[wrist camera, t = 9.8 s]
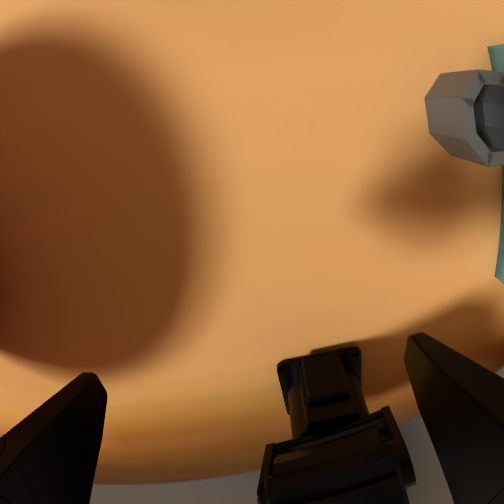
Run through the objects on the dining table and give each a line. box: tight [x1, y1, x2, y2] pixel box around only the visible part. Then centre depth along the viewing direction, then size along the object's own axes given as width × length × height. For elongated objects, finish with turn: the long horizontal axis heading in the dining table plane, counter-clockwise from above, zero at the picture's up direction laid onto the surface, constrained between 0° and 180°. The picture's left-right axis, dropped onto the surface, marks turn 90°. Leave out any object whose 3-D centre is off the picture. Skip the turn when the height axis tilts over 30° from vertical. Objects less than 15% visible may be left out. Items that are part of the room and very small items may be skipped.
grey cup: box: [425, 70, 504, 167], centre depth 14 cm, size 5×5×4 cm
